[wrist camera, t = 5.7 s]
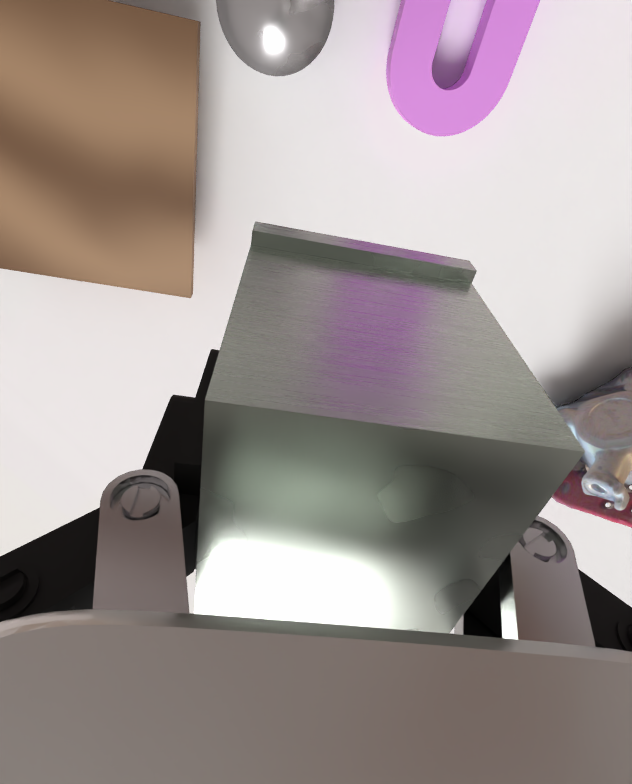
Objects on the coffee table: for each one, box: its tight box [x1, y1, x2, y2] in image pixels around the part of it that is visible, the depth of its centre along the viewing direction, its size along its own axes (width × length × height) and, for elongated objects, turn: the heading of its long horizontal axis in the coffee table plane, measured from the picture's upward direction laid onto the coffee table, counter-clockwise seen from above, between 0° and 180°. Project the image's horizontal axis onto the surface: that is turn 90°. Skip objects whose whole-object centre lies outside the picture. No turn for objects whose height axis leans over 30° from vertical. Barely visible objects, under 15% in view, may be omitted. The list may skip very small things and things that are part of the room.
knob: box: [216, 0, 334, 76], centre depth 19 cm, size 4×4×4 cm
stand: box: [0, 0, 200, 298], centre depth 22 cm, size 12×12×3 cm
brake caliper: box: [552, 367, 632, 528], centre depth 31 cm, size 11×11×12 cm
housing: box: [194, 222, 585, 634], centre depth 11 cm, size 9×5×6 cm, turn 169°
